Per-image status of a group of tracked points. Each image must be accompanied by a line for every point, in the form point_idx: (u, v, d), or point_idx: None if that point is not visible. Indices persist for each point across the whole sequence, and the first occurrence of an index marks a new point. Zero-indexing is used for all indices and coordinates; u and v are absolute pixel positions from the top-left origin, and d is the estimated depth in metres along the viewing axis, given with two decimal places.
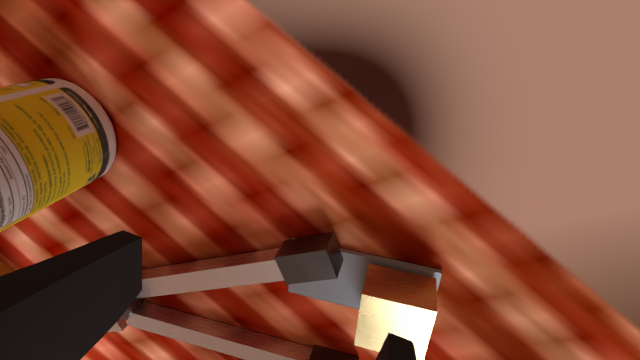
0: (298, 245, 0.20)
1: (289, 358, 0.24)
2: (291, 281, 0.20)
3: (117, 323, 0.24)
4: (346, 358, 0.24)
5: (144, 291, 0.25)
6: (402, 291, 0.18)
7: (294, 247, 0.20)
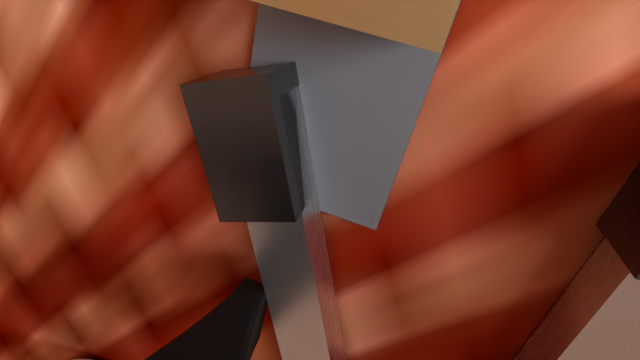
0: None
1: (601, 311, 0.08)
2: (286, 206, 0.08)
3: None
4: None
5: None
6: None
7: None
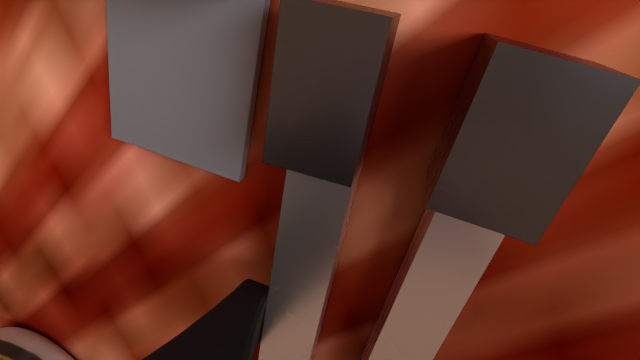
0: None
1: (422, 248, 0.08)
2: (347, 167, 0.07)
3: None
4: (470, 74, 0.07)
5: None
6: None
7: None
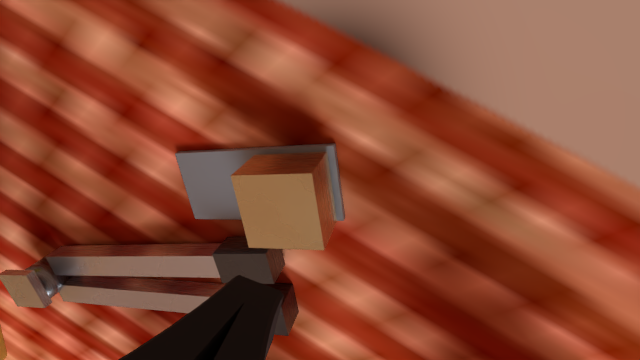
0: (239, 244, 0.19)
1: None
2: (227, 280, 0.20)
3: (40, 299, 0.23)
4: (278, 287, 0.21)
5: (74, 269, 0.23)
6: (280, 166, 0.16)
7: (235, 246, 0.19)
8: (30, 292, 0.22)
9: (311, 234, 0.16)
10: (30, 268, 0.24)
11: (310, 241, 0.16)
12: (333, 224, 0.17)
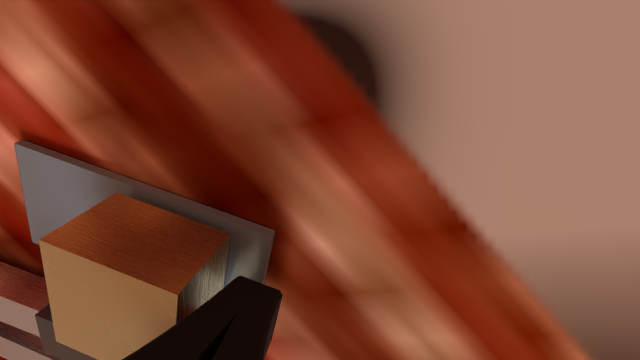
0: None
1: (39, 354, 0.14)
2: (53, 353, 0.13)
3: None
4: None
5: None
6: (137, 247, 0.09)
7: None
8: None
9: None
10: None
11: None
12: None
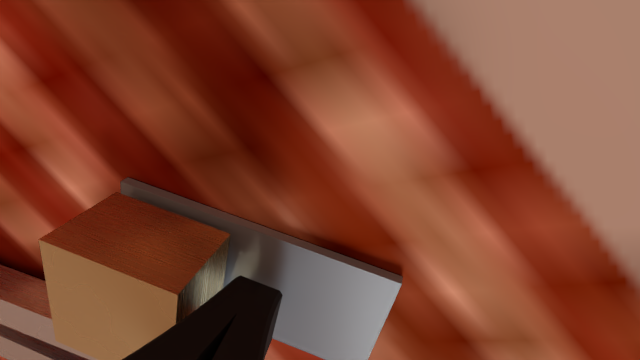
0: None
1: None
2: None
3: None
4: None
5: None
6: (137, 246, 0.09)
7: None
8: None
9: None
10: None
11: None
12: None
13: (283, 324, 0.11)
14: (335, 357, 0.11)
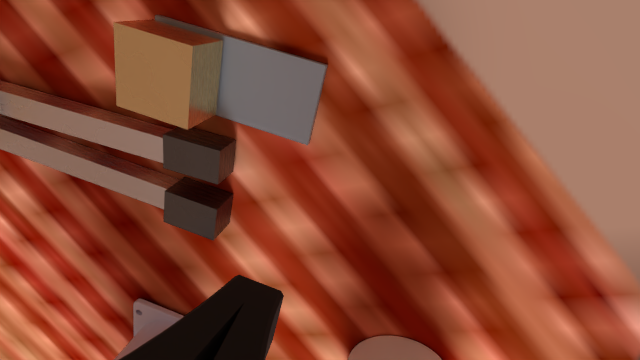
0: (194, 135, 0.18)
1: (150, 184, 0.20)
2: (170, 167, 0.19)
3: None
4: (218, 192, 0.20)
5: None
6: (169, 33, 0.15)
7: (189, 135, 0.18)
8: None
9: (179, 109, 0.16)
10: None
11: (177, 117, 0.16)
12: (209, 114, 0.18)
13: (258, 113, 0.18)
14: (291, 134, 0.18)
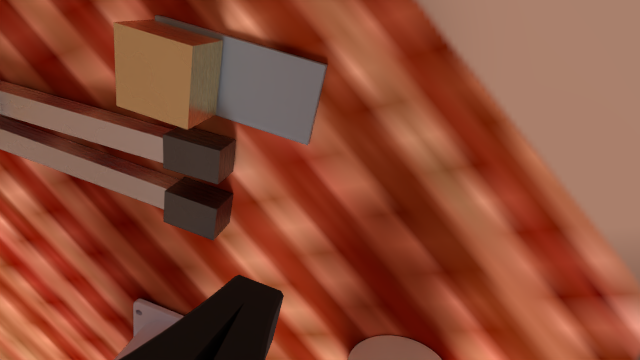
0: (194, 135, 0.18)
1: (150, 184, 0.20)
2: (170, 167, 0.19)
3: None
4: (217, 192, 0.20)
5: None
6: (168, 33, 0.15)
7: (189, 135, 0.18)
8: None
9: (179, 109, 0.16)
10: None
11: (177, 117, 0.16)
12: (209, 114, 0.18)
13: (257, 113, 0.18)
14: (290, 134, 0.18)
